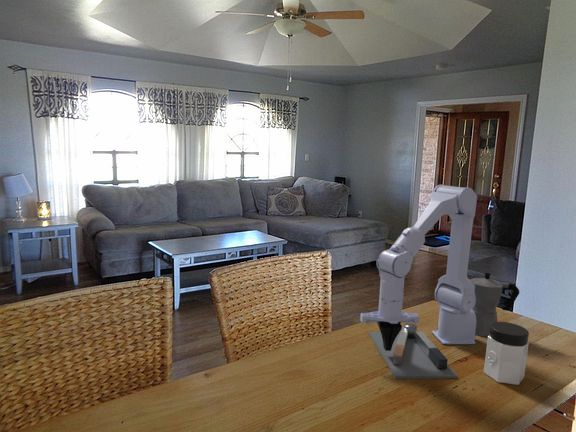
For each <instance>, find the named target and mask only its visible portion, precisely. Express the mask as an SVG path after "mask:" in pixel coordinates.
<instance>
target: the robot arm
mask: <svg viewBox="0 0 576 432" xmlns="http://www.w3.org/2000/svg"><path fill="white" fill-rule="evenodd" d="M477 201H478V195H477V193H476V192H475V191H474V190H473V188H471V187H461V186H454V185H445V184H438V185H436V186H435V187H434V188H433V191H431V192H430V194H429V203H428V204H427V206H426V207H425V209H424V211H423V212H422V213H421V215H420V216H419V218H418V219H417V221H416V222H415V224H414V225H413V226H412V227H407V228H405V229H404V230H403V231H402V233H401V234H400V235H399V236H398V237H397V239H396V240H395V241H394V243H393V244H392V245H391V247H390V248H388V249H385V250H383V251H382V252H381V253H380V254H379V256H378V257H377V258H378V259H377V260H376V268H377V269H378V273H379V275H378V276H379V278H380V282H379V284H380V285H379V296H378V297H379V299H378V310H376V311H370V312H361V313H360V314H359V316H360V317H359V318H360V319H359V320H360V322H361V324H367V323H376V324H377V325H378V328H379V332H381V335H382V339H383V347H384V349H385V350H386V351H391V348H392V345H393V343H394V341H395V338H396V337H397V335H398V334H399V332H400V331H401V329H402V327H403V325H402V323H413V324H419V323H420V321H419V320H420V316H419V314H418V313H413V312H406V311H405V312H404V311H403V301H404V287H405V276H407V275H408V273H409V272H410V271H411V268H412V263H413V262H414V257H415V256H416V255H417V253H418V252H419V251H420V249H421V248H422V247H423V245H424V244H425V243H426V238H425V235H426V234H427V233H428V232H429V231H430V230H431V229H432V228H433V226H435V224H437V222H438V221H439V220H440V219H441V218H442V217H443V216H446V215H448V216H449V218H450V219H451V225H450V226H451V228H450V234H449V235H450V236H449V237H450V238H449V245H448V246H449V247H448V254H447V263H446V272H445V273H446V274H444V275H442V276H440V278H438V279H437V281H438V282H437V284H436V288H435V290H434V299H435V301H436V302H437V306H438V307H439V314H438V324H437V325H438V326H437V330H431V333H432V334H433V335H434V337H435V338H437V340H439V342H440V343H441V344H442V345H475V344H477V343H476V341H475V338H476V335H475V330H476V315H475V313H474V311H473V310H472V309H473V307H474V305H475V302H476V297H475V286H474V284H473V283H472V282H471V281H470V280H469V279H470V278H469V277H468V267H469V260H470V257H469V256H470V250H471V242H472V241H471V240H472V233H473V232H472V231H473V226H474V218H475V216H476V210H477V208H476V207H477Z"/></svg>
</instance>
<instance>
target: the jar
mask: <svg viewBox="0 0 576 432" xmlns="http://www.w3.org/2000/svg"><path fill="white" fill-rule="evenodd" d="M529 334H530V333H529V330H528V329H526V328H525V327H523V326H521V325H519V324H517V323H512V322H508V321H498V322H494V323H492V324H491V327H490V335H489V336H488V337H487V342H486V349H485V351H486V352H485V357H484V358H485V359H484V365H483V373H484V374H486V375H487V376H488V377H490V378H491V379H492V380H494V381H495V382H497V383H500V384H501V383H502V384H509V385H516V386H518V385H520V384H521V383H522V381H523V380H524V379H525V374H526V373H525V372H526V367H527V359H528V352H529V344H530V343H529Z"/></svg>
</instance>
